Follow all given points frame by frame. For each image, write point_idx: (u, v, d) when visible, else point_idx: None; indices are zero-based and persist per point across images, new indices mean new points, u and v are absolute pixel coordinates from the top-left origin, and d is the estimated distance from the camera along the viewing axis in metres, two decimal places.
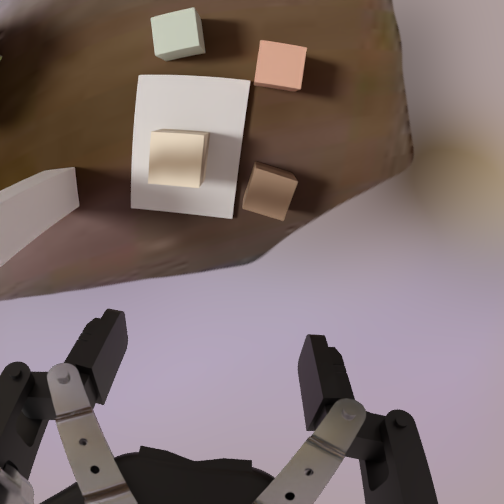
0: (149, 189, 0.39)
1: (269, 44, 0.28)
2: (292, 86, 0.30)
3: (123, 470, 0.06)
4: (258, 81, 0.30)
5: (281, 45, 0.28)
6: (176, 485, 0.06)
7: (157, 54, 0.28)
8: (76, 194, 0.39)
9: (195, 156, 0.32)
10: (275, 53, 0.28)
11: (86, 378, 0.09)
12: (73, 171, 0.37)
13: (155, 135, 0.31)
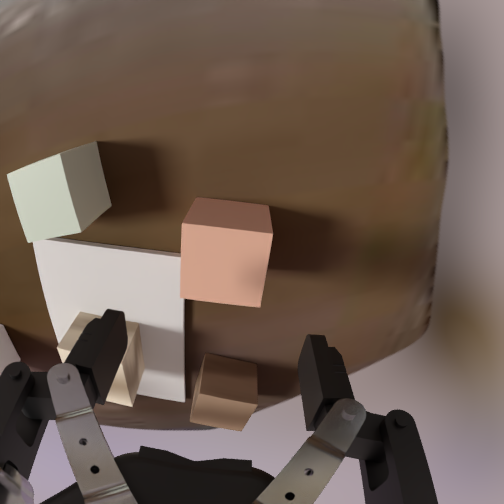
0: None
1: (199, 231, 0.17)
2: (245, 304, 0.19)
3: (123, 470, 0.06)
4: (186, 297, 0.19)
5: (222, 232, 0.17)
6: (176, 485, 0.06)
7: (30, 240, 0.17)
8: (13, 351, 0.29)
9: (117, 381, 0.22)
10: (211, 248, 0.17)
11: (86, 378, 0.09)
12: (2, 331, 0.27)
13: (63, 352, 0.21)
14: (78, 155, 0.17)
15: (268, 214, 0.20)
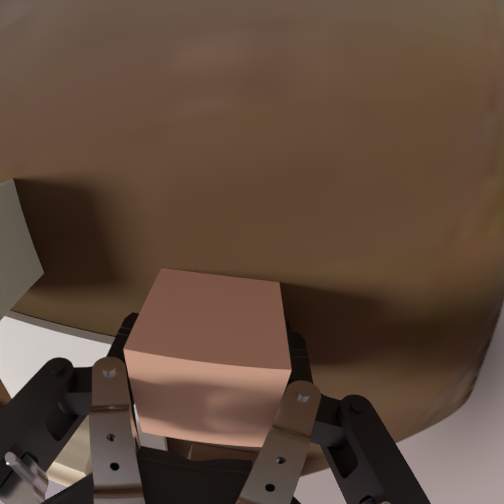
0: None
1: (155, 363, 0.09)
2: (242, 444, 0.11)
3: None
4: (151, 432, 0.11)
5: (197, 367, 0.09)
6: (176, 485, 0.06)
7: None
8: None
9: None
10: (180, 385, 0.09)
11: None
12: None
13: None
14: None
15: (280, 309, 0.11)
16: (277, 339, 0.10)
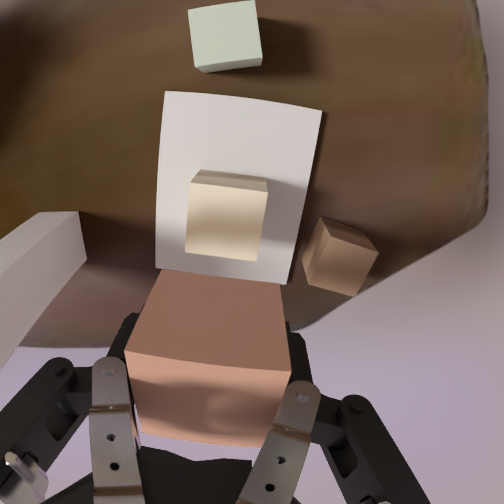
0: (181, 246, 0.31)
1: (156, 365, 0.09)
2: (242, 445, 0.11)
3: None
4: (152, 433, 0.11)
5: (198, 369, 0.09)
6: (176, 485, 0.06)
7: (198, 65, 0.20)
8: (82, 246, 0.31)
9: (253, 220, 0.24)
10: (180, 387, 0.09)
11: None
12: (76, 217, 0.30)
13: (196, 188, 0.23)
14: None
15: (280, 310, 0.11)
16: (277, 340, 0.10)
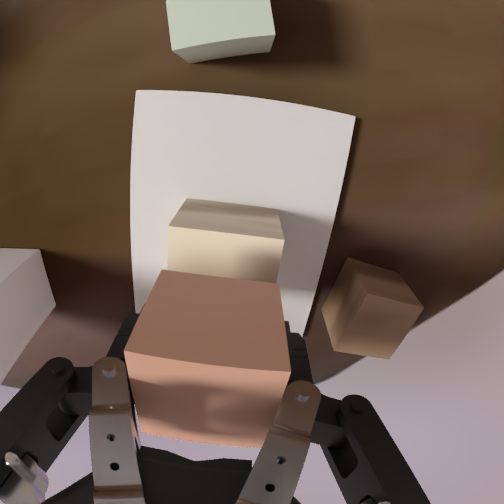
0: None
1: (156, 365, 0.09)
2: (241, 445, 0.11)
3: None
4: (152, 433, 0.11)
5: (197, 369, 0.09)
6: (176, 485, 0.06)
7: (177, 48, 0.12)
8: (48, 290, 0.24)
9: (262, 278, 0.17)
10: (180, 387, 0.09)
11: None
12: (38, 257, 0.22)
13: (178, 234, 0.16)
14: None
15: (280, 311, 0.11)
16: (277, 341, 0.10)
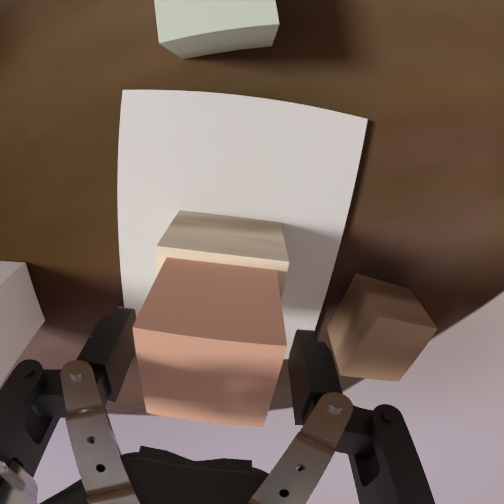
0: None
1: (162, 340, 0.10)
2: (242, 424, 0.12)
3: None
4: (156, 412, 0.11)
5: (201, 344, 0.10)
6: (176, 485, 0.06)
7: (165, 41, 0.10)
8: (36, 306, 0.22)
9: None
10: (184, 363, 0.10)
11: (99, 375, 0.09)
12: (24, 271, 0.20)
13: (167, 255, 0.14)
14: None
15: (277, 293, 0.12)
16: (274, 319, 0.11)
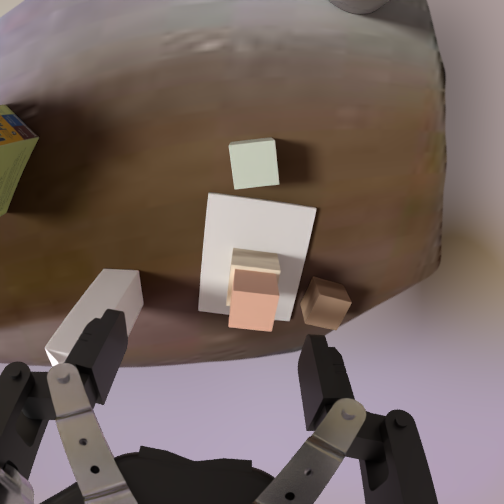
0: (217, 297, 0.45)
1: (242, 294, 0.33)
2: (263, 329, 0.35)
3: (123, 470, 0.06)
4: (232, 326, 0.35)
5: (254, 295, 0.33)
6: (176, 485, 0.06)
7: (236, 188, 0.34)
8: (141, 294, 0.45)
9: None
10: (247, 302, 0.34)
11: (86, 378, 0.09)
12: (138, 275, 0.44)
13: (235, 268, 0.38)
14: None
15: (276, 281, 0.36)
16: (275, 288, 0.35)
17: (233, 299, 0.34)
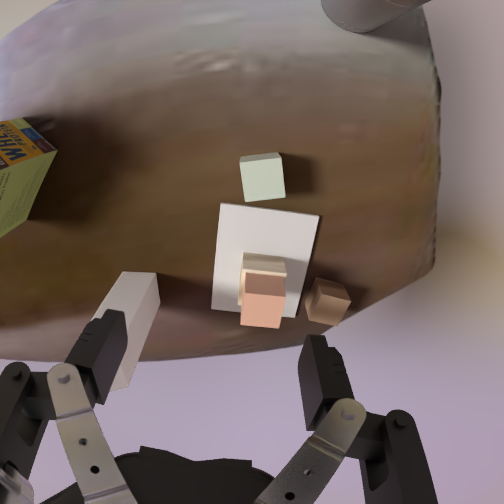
0: (229, 296, 0.50)
1: (252, 296, 0.38)
2: (272, 326, 0.40)
3: (123, 470, 0.06)
4: (243, 324, 0.40)
5: (263, 296, 0.38)
6: (176, 485, 0.06)
7: (247, 201, 0.39)
8: (158, 295, 0.50)
9: None
10: (257, 303, 0.38)
11: (86, 378, 0.09)
12: (155, 277, 0.48)
13: (246, 271, 0.42)
14: None
15: (283, 283, 0.40)
16: (282, 290, 0.39)
17: (245, 300, 0.38)
